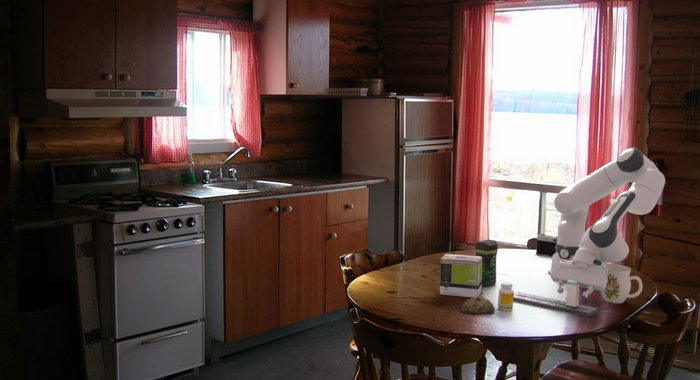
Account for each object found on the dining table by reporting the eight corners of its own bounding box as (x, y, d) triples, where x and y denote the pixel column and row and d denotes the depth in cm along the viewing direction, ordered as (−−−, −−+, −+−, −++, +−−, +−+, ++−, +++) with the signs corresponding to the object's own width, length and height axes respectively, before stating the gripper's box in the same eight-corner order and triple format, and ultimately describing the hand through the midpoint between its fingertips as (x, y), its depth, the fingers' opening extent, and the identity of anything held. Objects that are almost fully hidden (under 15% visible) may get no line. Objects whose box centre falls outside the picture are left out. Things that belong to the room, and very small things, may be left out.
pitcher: (636, 309, 270) (638, 273, 268) (588, 300, 281) (590, 265, 279) (645, 302, 279) (647, 267, 277) (598, 294, 290) (600, 260, 288)
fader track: (517, 295, 286) (517, 291, 286) (597, 312, 265) (597, 308, 265) (507, 299, 280) (507, 295, 280) (588, 317, 259) (589, 312, 259)
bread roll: (494, 316, 260) (495, 302, 259) (459, 313, 262) (460, 300, 261) (494, 306, 272) (495, 293, 272) (461, 303, 275) (461, 291, 274)
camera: (569, 255, 359) (570, 235, 357) (561, 258, 352) (562, 238, 350) (543, 251, 368) (544, 231, 366) (535, 254, 361) (536, 234, 359)
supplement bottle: (494, 307, 269) (496, 282, 268) (507, 306, 271) (508, 281, 270) (503, 311, 264) (504, 285, 263) (515, 310, 266) (517, 284, 265)
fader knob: (569, 303, 270) (570, 279, 268) (578, 305, 267) (579, 281, 266) (565, 305, 267) (567, 281, 266) (574, 307, 265) (576, 282, 264)
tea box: (481, 292, 290) (483, 255, 288) (477, 299, 280) (479, 261, 278) (444, 288, 295) (445, 252, 293) (439, 294, 285) (440, 257, 283)
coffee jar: (486, 288, 296) (488, 243, 293) (470, 284, 301) (472, 240, 299) (499, 284, 303) (501, 240, 300) (483, 280, 308) (484, 237, 306)
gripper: (555, 254, 277) (543, 284, 271) (609, 263, 264) (597, 295, 258) (560, 264, 281) (547, 293, 275) (613, 273, 268) (601, 304, 262)
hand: (572, 294), depth 266 cm, fingers open, 8 cm apart
